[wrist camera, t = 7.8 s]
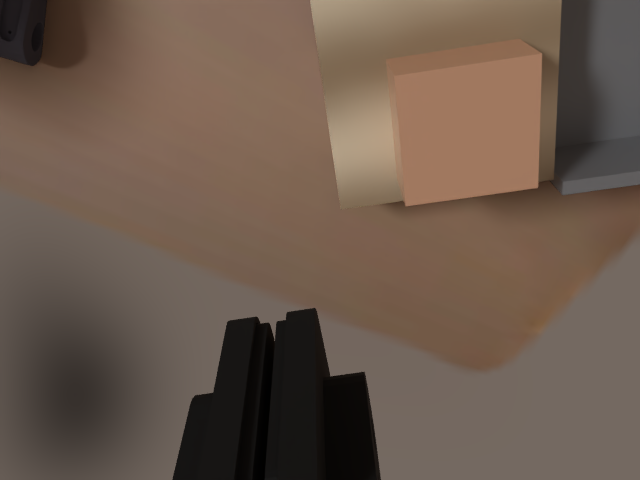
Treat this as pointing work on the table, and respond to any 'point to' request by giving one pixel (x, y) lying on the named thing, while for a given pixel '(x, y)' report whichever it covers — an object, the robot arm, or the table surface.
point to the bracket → (22, 30)
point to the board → (404, 40)
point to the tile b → (466, 121)
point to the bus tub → (598, 96)
